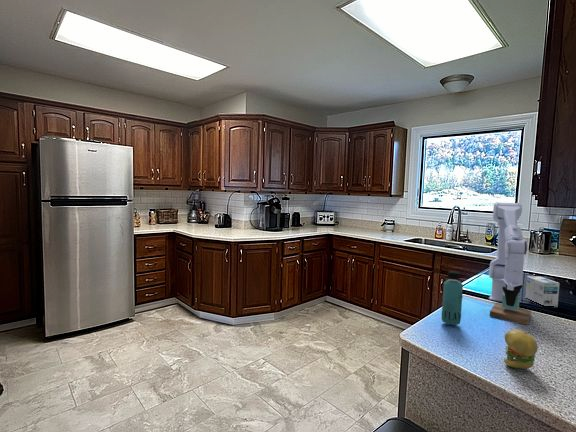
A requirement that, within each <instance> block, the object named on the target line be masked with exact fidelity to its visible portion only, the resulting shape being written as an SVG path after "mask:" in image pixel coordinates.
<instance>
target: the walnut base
mask: <svg viewBox="0 0 576 432" xmlns="http://www.w3.org/2000/svg"><path fill="white" fill-rule="evenodd" d="M531 314H532V310H529V309H524V308H520V307H519V308H518V310H517V311H516V310H511V309H507V308H502V303H495V302H494V305H493V306H492V308H491V309H490V310H489V316H490V317H491V318H496V319H500V320H504V321H509V322H513V323H515V324H516V323H517V324H522V325H525V326H528V325H529V322H530V319H531V316H532V315H531Z"/></svg>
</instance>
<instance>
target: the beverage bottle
mask: <svg viewBox="0 0 576 432" xmlns="http://www.w3.org/2000/svg"><path fill="white" fill-rule="evenodd" d="M447 278H450V279H446V280H445V281H444V282H443V293H442V294H443V295H442V304H441V306H442V307H441V321H442V322H443V323H445V324H448V325H453V326H454V325H455V326H457V325H460V324H461V322H462V321H461V318H462V306H463V305H462V304H463V303H462V302H463V289H464V288H463V287H464V285H463V283H462V282H461V281H460V279H461V272H460V271H457V270H449V271H447Z"/></svg>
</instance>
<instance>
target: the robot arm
mask: <svg viewBox="0 0 576 432" xmlns="http://www.w3.org/2000/svg"><path fill="white" fill-rule="evenodd" d="M492 211H493V212H492V219H493V221H494V222H497V226H498V229H497V231H498V232H497V233H498V234H497V257H496V258H495V259H492V260H491V261H490V263H489V269H488V276H489V278H490V279H491V280H492V281H491V292H490V293H491V295H490V296H489V297H488V300H491V301H495V302H500V303H502V298H503V294H505V297H506V304H507V305H508V306H512V307H513V306H514V304H515V300H516V297H517V295H519V293H520V292H521V290H522V288H523V277H524V276H523V275H524V274H523V273H524V264H525V262H524V261H525V256H526V255H527V253H528V243H527V240H526V239H525V238H524V235H523V232H522V229H521V227H520V226H518V220H519V219H520V217H521V216H522V213H523V206H522V204H521V202H497V201H496V202H495V203H494V204H493V209H492Z"/></svg>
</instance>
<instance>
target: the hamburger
mask: <svg viewBox="0 0 576 432" xmlns="http://www.w3.org/2000/svg"><path fill="white" fill-rule="evenodd" d="M528 332H529V330H527V331H523V330H521V329H510V330H508V331H507V332H505V334H504V342H505V343H506V346H505V350H506V351H505V353H504V354H505V355H506V358H504V359H503V361H504V364H505V365H507V366H509V367H511V368H515V369H530V368H533V366H534V365H535V364H534V363H535V361H536V359H535V358H536V354H537V352H538V349H539V347H538V342H537V341H536V339H535V338H534V337H533V336H532V335H530V334H529V333H528Z"/></svg>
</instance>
